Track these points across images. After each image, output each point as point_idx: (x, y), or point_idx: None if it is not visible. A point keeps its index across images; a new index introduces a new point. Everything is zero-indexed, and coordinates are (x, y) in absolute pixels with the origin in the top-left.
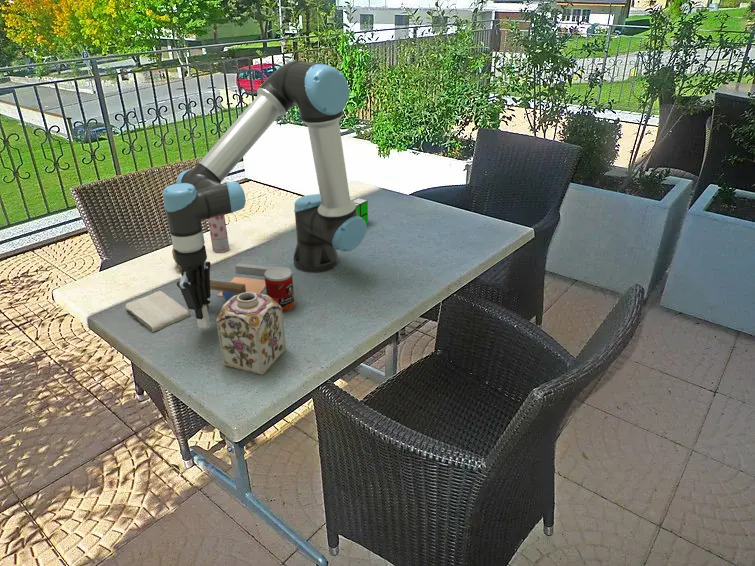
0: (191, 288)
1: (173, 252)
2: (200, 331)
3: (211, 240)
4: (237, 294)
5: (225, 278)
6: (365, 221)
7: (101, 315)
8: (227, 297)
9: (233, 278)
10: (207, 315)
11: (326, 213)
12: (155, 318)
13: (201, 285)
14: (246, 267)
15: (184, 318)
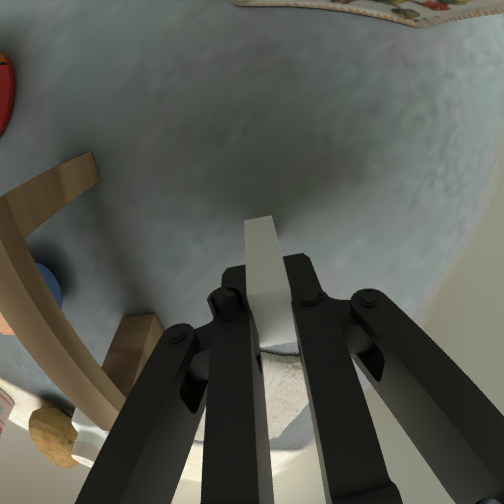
0: (491, 465)
1: (79, 462)
2: None
3: (6, 420)
4: (22, 213)
5: (21, 350)
6: None
7: (293, 444)
8: (55, 290)
9: (7, 334)
10: (252, 250)
11: None
12: (288, 392)
13: (260, 468)
14: None
15: None
